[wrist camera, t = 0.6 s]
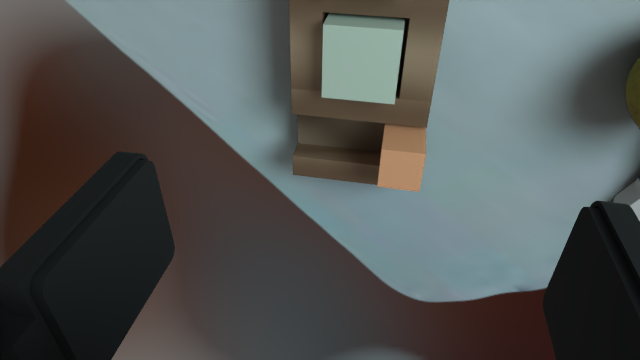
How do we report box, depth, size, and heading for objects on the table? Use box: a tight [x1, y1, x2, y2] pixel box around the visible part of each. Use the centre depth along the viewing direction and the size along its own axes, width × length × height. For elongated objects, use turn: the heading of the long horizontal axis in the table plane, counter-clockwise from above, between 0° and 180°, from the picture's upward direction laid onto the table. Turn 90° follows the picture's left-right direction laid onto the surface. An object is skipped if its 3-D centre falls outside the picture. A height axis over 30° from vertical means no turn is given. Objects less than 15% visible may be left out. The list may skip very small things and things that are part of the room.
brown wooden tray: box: [289, 0, 449, 185], centre depth 33 cm, size 21×10×4 cm, turn 179°
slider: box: [377, 123, 426, 192], centre depth 34 cm, size 3×3×5 cm
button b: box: [322, 13, 405, 104], centre depth 31 cm, size 5×5×3 cm
